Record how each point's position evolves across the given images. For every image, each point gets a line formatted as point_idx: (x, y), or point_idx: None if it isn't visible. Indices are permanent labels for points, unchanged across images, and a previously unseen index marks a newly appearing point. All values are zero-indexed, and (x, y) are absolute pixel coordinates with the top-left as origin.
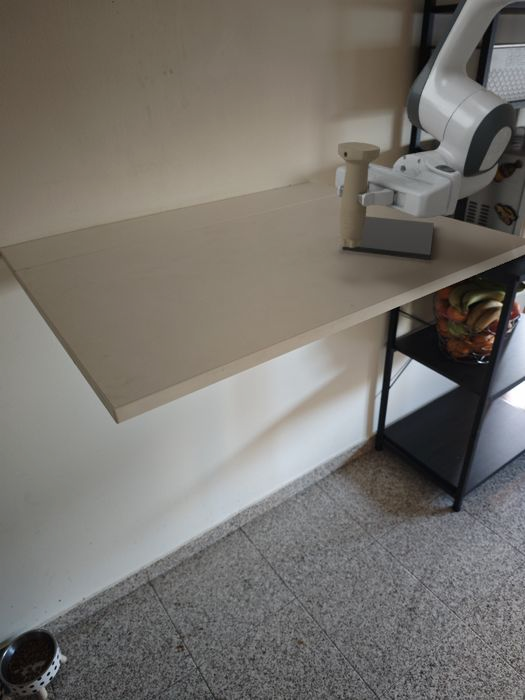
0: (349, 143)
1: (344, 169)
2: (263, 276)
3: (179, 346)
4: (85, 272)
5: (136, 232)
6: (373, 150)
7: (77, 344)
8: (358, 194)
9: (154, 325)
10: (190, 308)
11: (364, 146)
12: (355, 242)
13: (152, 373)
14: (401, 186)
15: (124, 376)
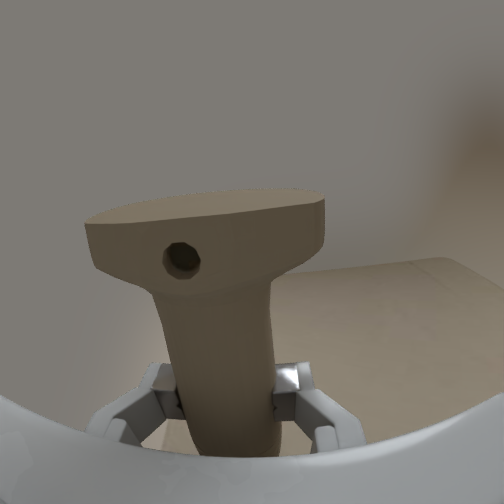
0: (292, 195)
1: (477, 409)
2: (349, 400)
3: None
4: (401, 281)
5: (493, 305)
6: (103, 213)
7: (282, 276)
8: None
9: (281, 303)
10: (297, 324)
11: (176, 206)
12: None
13: None
14: (42, 422)
15: None
